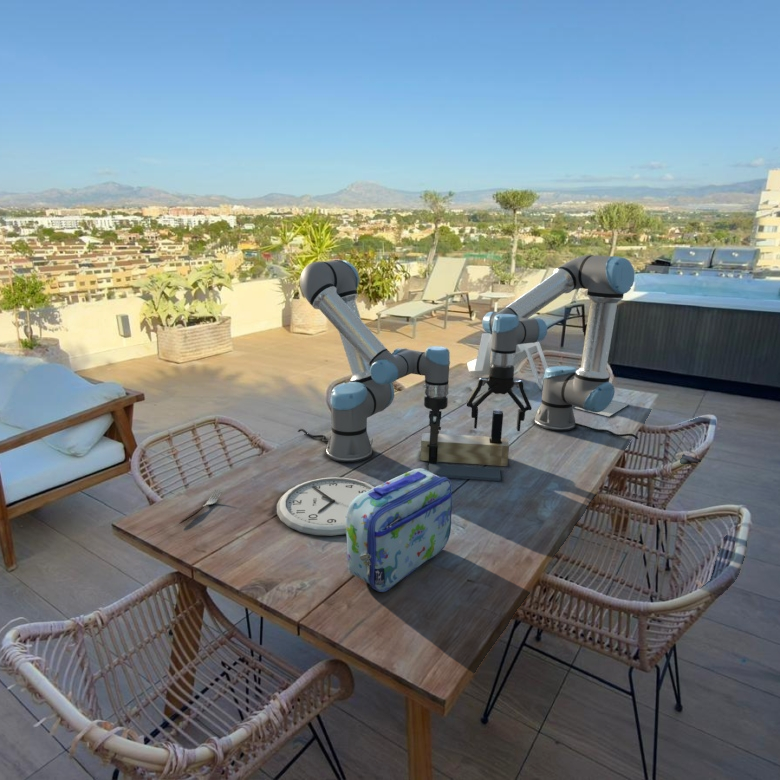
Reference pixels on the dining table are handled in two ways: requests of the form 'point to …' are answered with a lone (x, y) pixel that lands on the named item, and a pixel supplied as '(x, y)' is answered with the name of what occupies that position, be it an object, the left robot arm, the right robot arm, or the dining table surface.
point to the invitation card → (609, 408)
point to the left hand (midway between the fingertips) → (433, 456)
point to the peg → (496, 427)
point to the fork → (209, 502)
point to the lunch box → (398, 527)
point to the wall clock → (320, 505)
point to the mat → (465, 472)
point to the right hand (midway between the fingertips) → (496, 428)
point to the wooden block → (467, 449)
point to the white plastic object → (522, 350)
